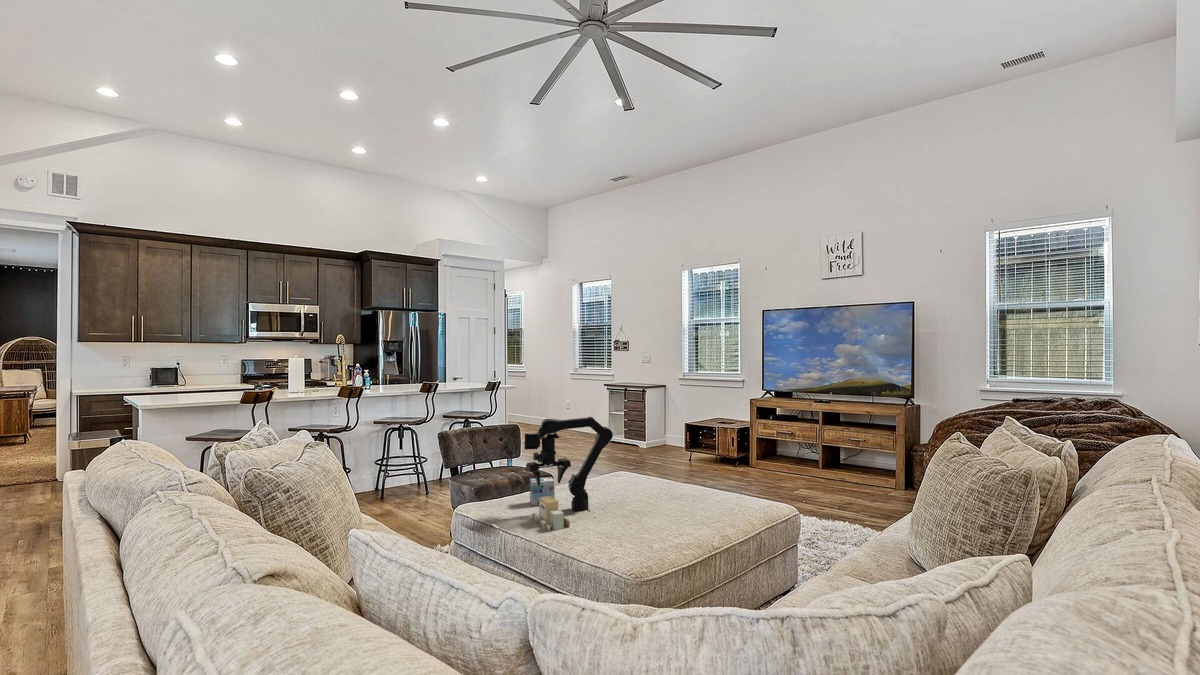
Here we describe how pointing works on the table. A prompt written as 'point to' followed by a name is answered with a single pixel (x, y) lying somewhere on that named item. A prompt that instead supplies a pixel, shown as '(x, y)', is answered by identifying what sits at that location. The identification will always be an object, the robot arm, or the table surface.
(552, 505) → the carton
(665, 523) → the table surface
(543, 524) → the shelf
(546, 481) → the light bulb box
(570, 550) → the table surface
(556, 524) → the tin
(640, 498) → the table surface
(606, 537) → the table surface
